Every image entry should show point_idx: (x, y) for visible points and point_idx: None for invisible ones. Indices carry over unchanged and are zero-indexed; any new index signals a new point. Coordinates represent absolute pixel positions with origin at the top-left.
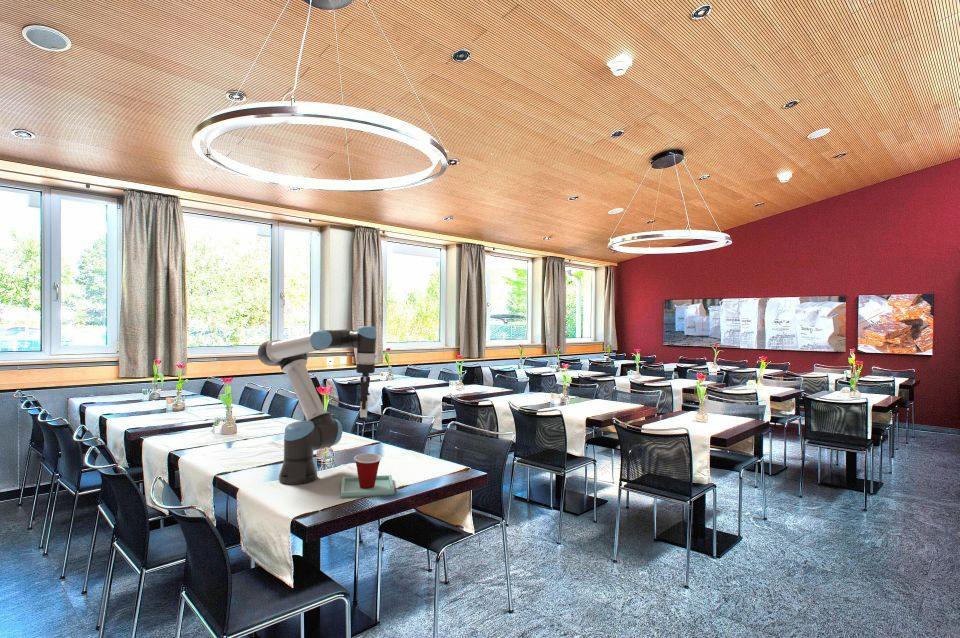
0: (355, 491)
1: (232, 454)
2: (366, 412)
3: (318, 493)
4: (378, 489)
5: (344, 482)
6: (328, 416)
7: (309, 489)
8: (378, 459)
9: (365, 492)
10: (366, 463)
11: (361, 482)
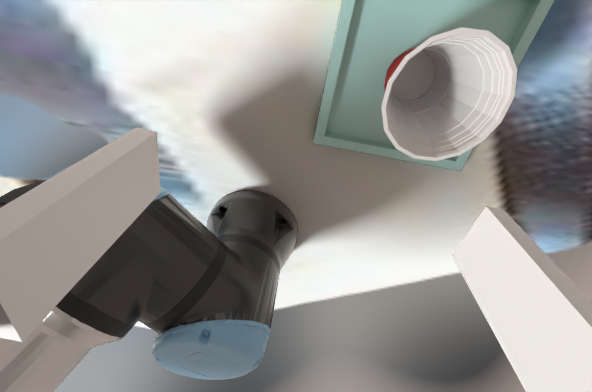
0: None
1: None
2: (534, 249)
3: (385, 204)
4: None
5: (369, 146)
6: (81, 290)
7: (344, 216)
8: (445, 40)
9: None
10: (495, 116)
11: (428, 105)
